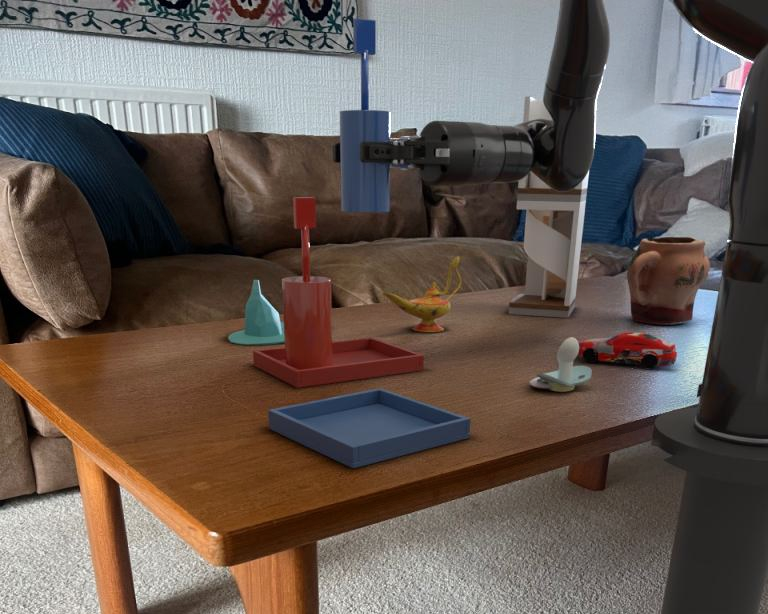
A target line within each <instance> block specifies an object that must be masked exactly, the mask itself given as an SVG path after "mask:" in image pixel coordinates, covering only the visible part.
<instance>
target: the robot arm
mask: <svg viewBox="0 0 768 614" xmlns="http://www.w3.org/2000/svg"><path fill="white" fill-rule="evenodd" d="M668 1H669V2H670V3H671V5H672V6H673V7H674V9H675V10H676V11H677V13H678V14H679V15H680V17H681V18H682V19H683V21H685V22H686V24H687V25H689V26H690V28H691V29H692V30H693V31H695V33H697V34H699V35H700V36H702V38H705V39H706V40H708V41H710V42H711V43H713V44H715V45H717V46H718V47H720V48H722V49H724V50H726V51H728V52H730V53H732V54H734V55H737V56H738V57H740V58H743V59H744V60H747V61H748V62H751V65H750V68H749V70H748V72H747V74H746V78H745V80H744V84H743V87H742V91H741V96H740V100H739V103H738V104H739V105H738V110H737V116H736V117H737V118H736V123H735V124H736V125H735V133H734V143H733V148H732V149H733V150H732V159H731V167H730V174H729V181H728V190H727V208H728V209H727V211H728V215H729V229H728V230H729V231H728V236H727V239H728V240H727V242H726V247H725V253H724V259H723V265H722V269H721V275H720V281H719V285H718V286H719V287H718V292H717V298H716V302H715V308H714V314H713V320H712V325H711V330H710V337H709V342H708V347H707V353H706V359H705V365H704V369H703V375H702V382H701V383H700V384H698V385H697V391H696V392H697V393H696V397H695V398H696V399H697V398H699V399H698V402H697V415H696V417H695V420H694V428H695V429H696V430H697V431H698V432H700V433H702V434H704V435H706V436H708V437H711V438H714V439H717V440H720V441H724V442H729V443H733V444H739V445H746V446H756V447H768V0H668ZM559 2H560V3H559V11H558V17H557V25H556V30H555V36H554V42H553V47H552V51H551V55H550V60H549V64H548V69H547V72H546V73H547V74H546V78H545V82H544V86H543V87H544V88H543V94H542V101H543V103H544V106H545V108H546V109H547V111H548V112H549V114H550V116H551V117H552V119H553V120H548V119H535V120H531V121H528V122H524V123H523V122H520V123H517V124H514V125H499V124H497V125H496V124H486V123H483V122H477V121H475V122H473V121H455V120H453V121H451V120H432V121H429V122H428V123H427V124H426V125H425V126H423V129H422V130H421V131H420V133H419V135H401V136H399V137H397V138H395V137H390V142H362V143H361V144H360V160H361V162H363V163H390V169H398V170H399V171H412V172H413V171H416V172H417V171H418V173H419V176H420V178H421V179H422V181H423V182H425V184H427V185H429V186H432V187H455V186H456V187H458V186H468V187H470V186H478V185H484V184H512V183H516V182H517V183H518V182H519V181H520V180H521V179H523V178H524V177H525V176H527V174H528V173H529V172H530V171H531V172H532V173H534V174H535V175H536V176H537V177H538V178H539V179H541V180H542V181H543V182H544V183H545V184H546V185H548V186H549V187H550V188H551V189H553V190H555V191H558V192H567V191H570V190H573V189H574V188H576V187H577V186H578V185H579V184H580V183H581V182H582V181H583V180H584V178H585V177H586V175H587V173H588V171H589V172H590V169H591V166H592V163H593V160H594V155H595V145H596V144H595V143H596V124H597V123H596V122H597V114H596V113H597V112H596V111H597V103H596V101H597V99H598V95H599V92H600V89H601V85H602V81H603V78H604V74H605V70H606V66H607V63H608V59H609V54H610V47H611V33H610V32H611V31H610V25H609V20H608V16H607V11H606V7H605V4H604V0H559ZM332 160H333V162H334V163H336V164H338V163H339V164H340V142H334V143H333V144H332Z"/></svg>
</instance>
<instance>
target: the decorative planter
mask: <svg viewBox="0 0 768 614" xmlns="http://www.w3.org/2000/svg"><path fill="white" fill-rule="evenodd" d="M705 247H706V241H705V240H702V239H697V238H695V237H689V236H664V237H651V238H650V237H649V238H643V239H641V241H640V242H639V244H638V247H637V249H636V251H635V252H634V254H633V256H632V257H631V259H630V261H629V264H628V267H627V272H626V280H627V284H628V291H629V296H630V301H629V302H630V315H631V318H632V320H633V321H634V322H639V323H644V324H652V325H678V324H685V323H688V322H690V321H692V320H693V317H694V316H693V315H694V306H695V301H696V296H697V293H698V292H699V289H700V288H701V286H702V285H703V284H704V282H705V281H706V280H707V279H708V277H709V272H710V269H711V263H710V260H709V259H708V257H707V255H706V253H705Z"/></svg>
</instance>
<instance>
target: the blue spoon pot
mask: <svg viewBox="0 0 768 614" xmlns="http://www.w3.org/2000/svg"><path fill="white" fill-rule="evenodd" d="M352 21H353V22H352V25H353V29H352V30H353V31H352V32H353V36H352V37H353V41H352V42H353V54H355V55H360V109H348V110H340V111H339V143H340V163H339V165H340V166H339V169H340V211H341V212H343V213H358V214H359V213H361V214H365V213H366V214H371V213H373V214H376V213H377V214H378V213H389V212H390V211H391V168H390V163H363V162H361V160H360V144H361V143H362V142H390V138H391V111H389V110H379V109H370V88H369V87H370V83H369V82H370V78H369V77H370V75H369V74H370V72H369V71H370V69H369V68H370V65H369V62H370V61H369V60H370V58H369V57H370V56H374V55H377V51H376V50H377V48H376V46H377V45H376V42H377V41H376V39H377V38H376V37H377V35H376V34H377V33H376V31H377V30H376V28H377V27H376V26H377V25H376V24H377V22H376V19H369V18H360V17H355V18H353V20H352Z"/></svg>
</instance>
